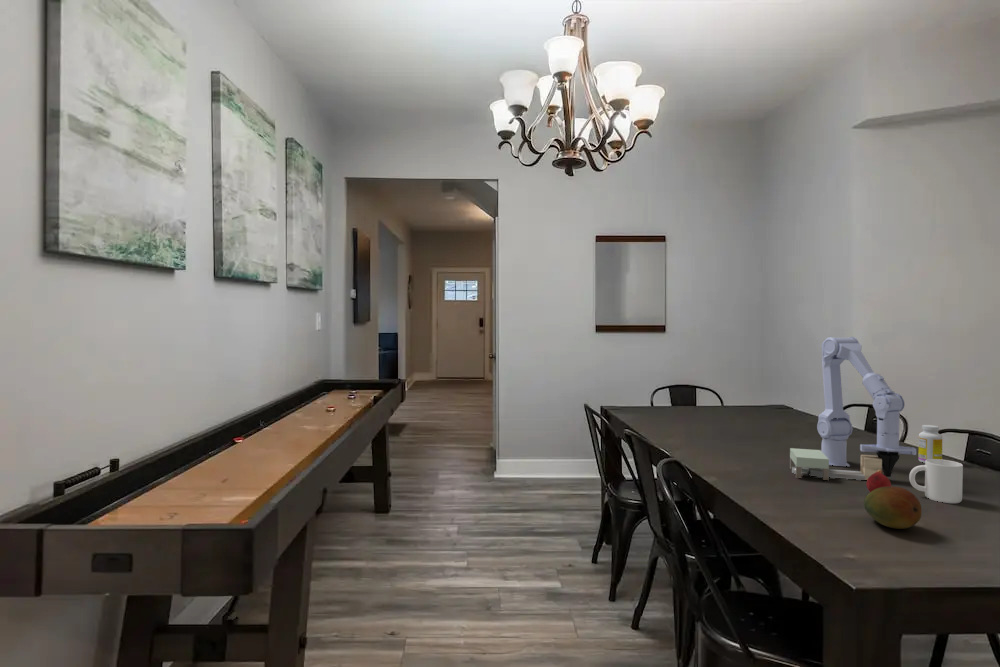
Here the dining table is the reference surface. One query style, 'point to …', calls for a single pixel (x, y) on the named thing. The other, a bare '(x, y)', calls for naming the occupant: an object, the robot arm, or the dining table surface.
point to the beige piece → (868, 468)
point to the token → (803, 471)
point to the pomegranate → (877, 481)
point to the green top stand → (809, 461)
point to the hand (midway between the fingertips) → (887, 475)
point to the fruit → (893, 507)
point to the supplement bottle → (930, 443)
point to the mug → (940, 480)
